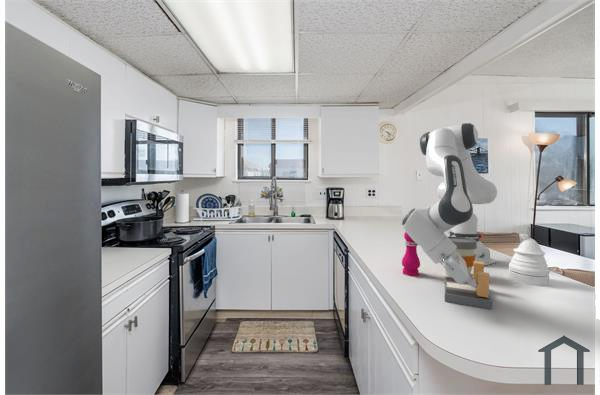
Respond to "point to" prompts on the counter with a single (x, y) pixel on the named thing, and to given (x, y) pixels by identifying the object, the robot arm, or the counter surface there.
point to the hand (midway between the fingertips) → (474, 285)
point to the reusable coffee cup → (465, 250)
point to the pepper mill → (410, 257)
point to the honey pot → (529, 264)
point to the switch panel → (465, 294)
